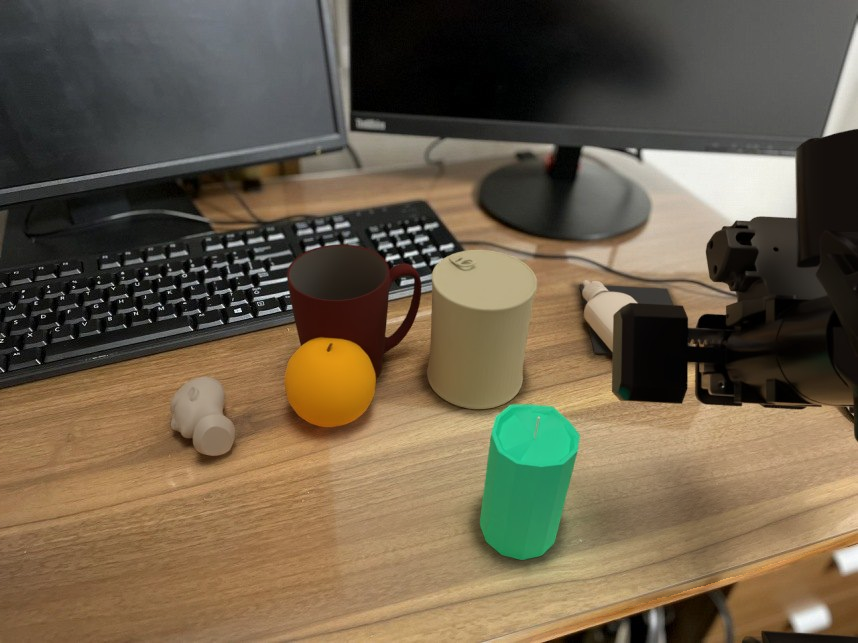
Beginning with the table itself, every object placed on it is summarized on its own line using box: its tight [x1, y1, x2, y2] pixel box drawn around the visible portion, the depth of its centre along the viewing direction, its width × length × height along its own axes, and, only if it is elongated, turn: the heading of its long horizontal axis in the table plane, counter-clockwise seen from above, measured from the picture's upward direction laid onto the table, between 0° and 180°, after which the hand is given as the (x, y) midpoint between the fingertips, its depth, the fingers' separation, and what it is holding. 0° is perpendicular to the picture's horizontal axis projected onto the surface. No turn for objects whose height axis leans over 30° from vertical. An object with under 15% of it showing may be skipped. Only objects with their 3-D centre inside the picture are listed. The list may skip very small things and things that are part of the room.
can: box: [426, 249, 538, 410], centre depth 61 cm, size 9×9×12 cm
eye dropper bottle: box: [581, 279, 637, 352], centre depth 70 cm, size 4×6×12 cm
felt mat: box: [579, 283, 691, 356], centre depth 72 cm, size 12×10×1 cm
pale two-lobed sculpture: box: [169, 376, 236, 457], centre depth 57 cm, size 4×8×5 cm
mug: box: [286, 244, 422, 379], centre depth 62 cm, size 12×9×11 cm
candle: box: [479, 403, 581, 561], centre depth 48 cm, size 6×6×12 cm
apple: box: [283, 337, 377, 428], centre depth 58 cm, size 8×8×8 cm
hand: (710, 367), depth 51 cm, fingers closed
